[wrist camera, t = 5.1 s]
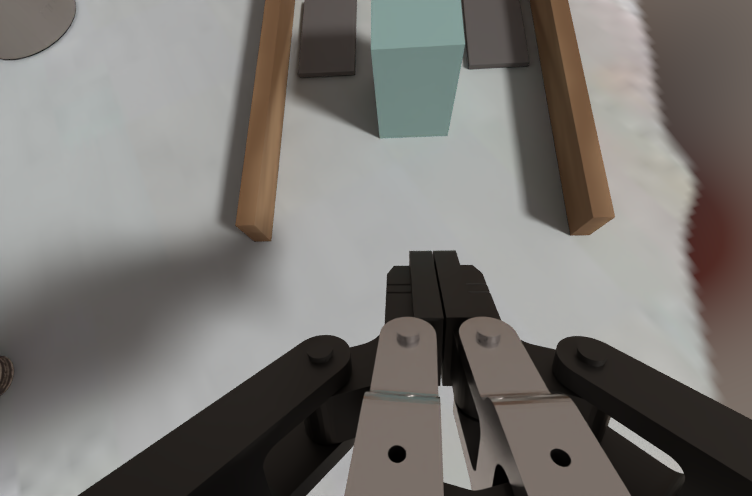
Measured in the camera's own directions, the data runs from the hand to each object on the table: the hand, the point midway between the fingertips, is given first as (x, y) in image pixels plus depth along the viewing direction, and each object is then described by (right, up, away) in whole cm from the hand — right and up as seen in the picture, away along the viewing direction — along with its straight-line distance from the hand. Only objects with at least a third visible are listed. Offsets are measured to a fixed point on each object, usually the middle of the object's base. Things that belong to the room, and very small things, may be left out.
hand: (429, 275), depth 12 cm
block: (+1, +12, +16) cm, 20 cm away
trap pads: (+1, +19, +18) cm, 26 cm away
